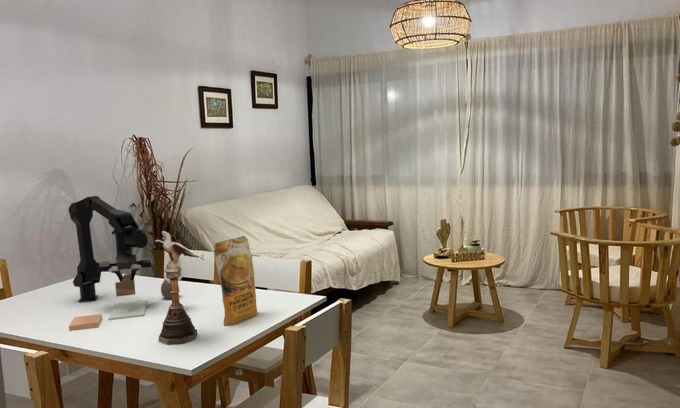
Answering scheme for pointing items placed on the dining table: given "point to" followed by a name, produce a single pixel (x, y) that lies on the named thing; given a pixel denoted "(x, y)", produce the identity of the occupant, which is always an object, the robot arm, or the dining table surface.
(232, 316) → the pancake mix bag
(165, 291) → the vase
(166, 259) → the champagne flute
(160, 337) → the bird statue
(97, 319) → the tile
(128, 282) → the brown wooden block
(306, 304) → the dining table surface
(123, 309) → the rest board
